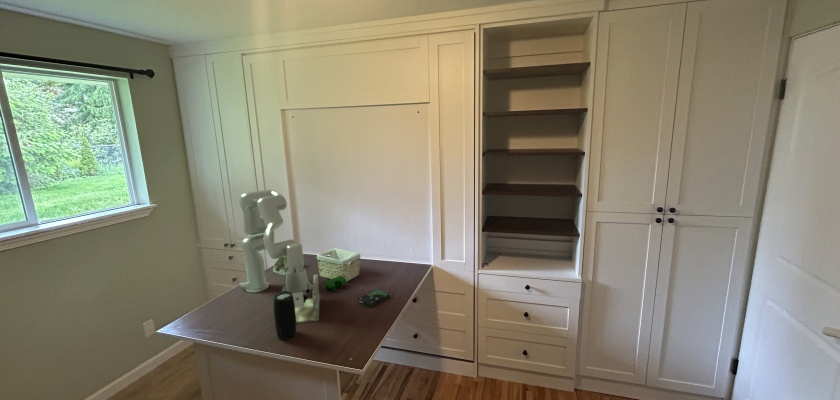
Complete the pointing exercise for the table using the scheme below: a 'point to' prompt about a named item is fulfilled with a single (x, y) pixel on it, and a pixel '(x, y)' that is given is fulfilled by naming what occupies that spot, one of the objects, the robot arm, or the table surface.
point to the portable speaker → (284, 315)
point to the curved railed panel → (309, 306)
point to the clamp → (335, 283)
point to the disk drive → (373, 298)
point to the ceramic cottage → (280, 265)
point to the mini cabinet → (298, 299)
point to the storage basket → (338, 264)
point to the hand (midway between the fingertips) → (298, 301)
